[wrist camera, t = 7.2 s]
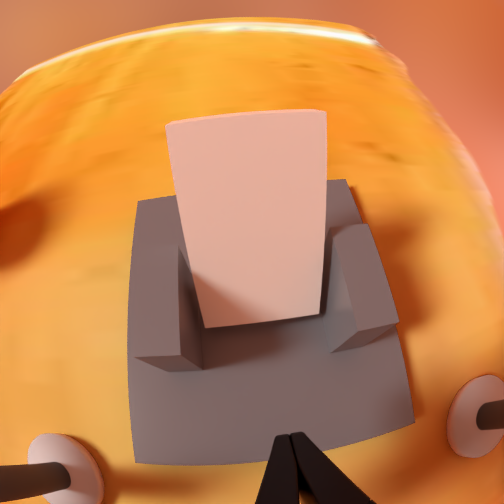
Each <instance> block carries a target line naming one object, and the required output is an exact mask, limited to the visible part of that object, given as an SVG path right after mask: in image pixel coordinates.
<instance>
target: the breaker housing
mask: <svg viewBox="0 0 504 504" xmlns="http://www.w3.org/2000/svg"><path fill="white" fill-rule="evenodd" d="M398 322H399V318H398V314H397V311H396V307H395V304H394V300H393V297H392V293H391V290H390V287H389V284H388V280H387V277H386V274H385V271H384V268H383V265H382V262H381V259H380V256H379V253H378V250H377V247H376V245H375V242H374V239H373V236H372V234H371V231H370V228H369V226H368V224H363V222H362V219H361V216H360V214H359V211H358V209H357V206H356V204H355V201H354V199H353V196H352V194H351V191H350V189H349V187H348V184H347V182H346V179H340V180H327V188H326V220H325V241H324V258H323V272H322V285H321V297H320V308H319V314H315V315H308V316H302V317H295V318H288V319H281V320H273V321H266V322H258V323H250V324H241V325H232V326H222V327H212V328H205V326H204V322H203V318H202V314H201V310H200V306H199V301H198V297H197V293H196V289H195V285H194V280H193V276H192V271H191V267H190V262H189V258H188V253H187V248H186V244H185V239H184V234H183V229H182V224H181V219H180V213H179V208H178V203H177V197H176V195H174V196H168V197H161V198H154V199H148V200H142V201H138V205H137V212H136V219H135V228H134V236H133V246H132V256H131V268H130V282H129V300H128V335H127V354H128V388H129V406H130V419H131V430H132V439H133V448H134V456H135V463H144V464H158V465H226V464H240V463H251V462H261V461H268V460H269V456H270V453H271V449H272V446H273V442H274V439H275V436H277V435H282V434H290V433H294V432H300V431H302V432H304V433H305V434H306V435H307V436H308V437H309V438H310V440H311V441H312V442H313V443H314V444H315V445H316V446H317V447H318V448H319V449H320V450H321V451H325V450H330V449H334V448H338V447H342V446H346V445H350V444H353V443H357V442H360V441H364V440H367V439H370V438H373V437H377V436H380V435H383V434H386V433H389V432H391V431H394V430H397V429H400V428H402V427H405V426H408V425H410V424H413V423H415V418H414V412H413V406H412V400H411V394H410V388H409V383H408V378H407V373H406V368H405V363H404V359H403V354H402V350H401V346H400V341H399V337H398V333H397V329H396V324H397V323H398Z"/></svg>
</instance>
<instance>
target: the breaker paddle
mask: <svg viewBox="0 0 504 504" xmlns="http://www.w3.org/2000/svg"><path fill="white" fill-rule="evenodd" d="M165 129H166V136H167V143H168V150H169V156H170V162H171V168H172V174H173V180H174V186H175V192H176V197H177V203H178V208H179V213H180V219H181V224H182V229H183V234H184V239H185V244H186V248H187V253H188V258H189V262H190V267H191V271H192V276H193V280H194V285H195V289H196V293H197V297H198V301H199V306H200V310H201V314H202V318H203V322H204V326H205V328H212V327H222V326H232V325H241V324H250V323H258V322H266V321H273V320H281V319H288V318H295V317H302V316H308V315H315V314H319V308H320V297H321V285H322V272H323V258H324V241H325V220H326V188H327V121H326V112H325V111H320V110H315V109H295V110H270V111H254V112H242V113H231V114H222V115H213V116H205V117H198V118H191V119H184V120H178V121H172V122H170V123H168V124H167V125H165Z"/></svg>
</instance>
